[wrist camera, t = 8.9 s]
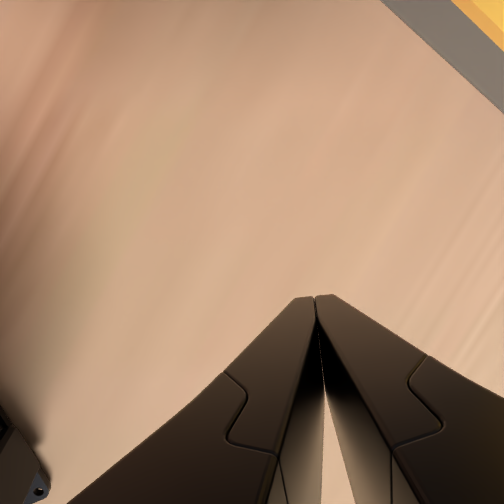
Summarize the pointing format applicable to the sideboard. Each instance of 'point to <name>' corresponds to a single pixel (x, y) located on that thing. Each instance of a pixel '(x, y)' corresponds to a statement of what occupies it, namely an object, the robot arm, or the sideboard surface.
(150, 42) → the sideboard surface
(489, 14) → the yellow flat slab
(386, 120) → the sideboard surface
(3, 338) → the sideboard surface
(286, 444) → the robot arm
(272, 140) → the sideboard surface
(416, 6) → the dark grey block
